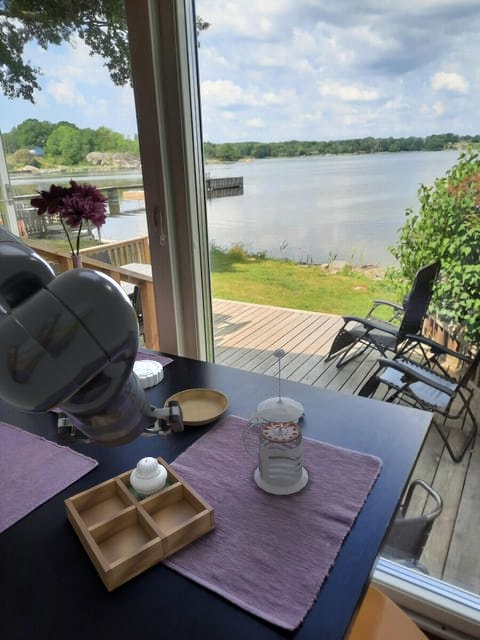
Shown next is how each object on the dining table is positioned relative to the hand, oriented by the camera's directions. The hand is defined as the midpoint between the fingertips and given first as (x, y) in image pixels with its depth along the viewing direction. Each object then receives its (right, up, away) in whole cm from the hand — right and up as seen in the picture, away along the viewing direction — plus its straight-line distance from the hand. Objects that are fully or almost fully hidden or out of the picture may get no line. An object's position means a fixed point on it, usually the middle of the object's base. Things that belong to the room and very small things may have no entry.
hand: (132, 435), depth 60 cm
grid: (-1, -17, +11) cm, 20 cm away
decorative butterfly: (+24, -6, +38) cm, 46 cm away
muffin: (-1, -14, +16) cm, 22 cm away
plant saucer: (+5, -6, +42) cm, 42 cm away
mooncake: (-12, -1, +59) cm, 61 cm away
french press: (+21, -13, +20) cm, 32 cm away
